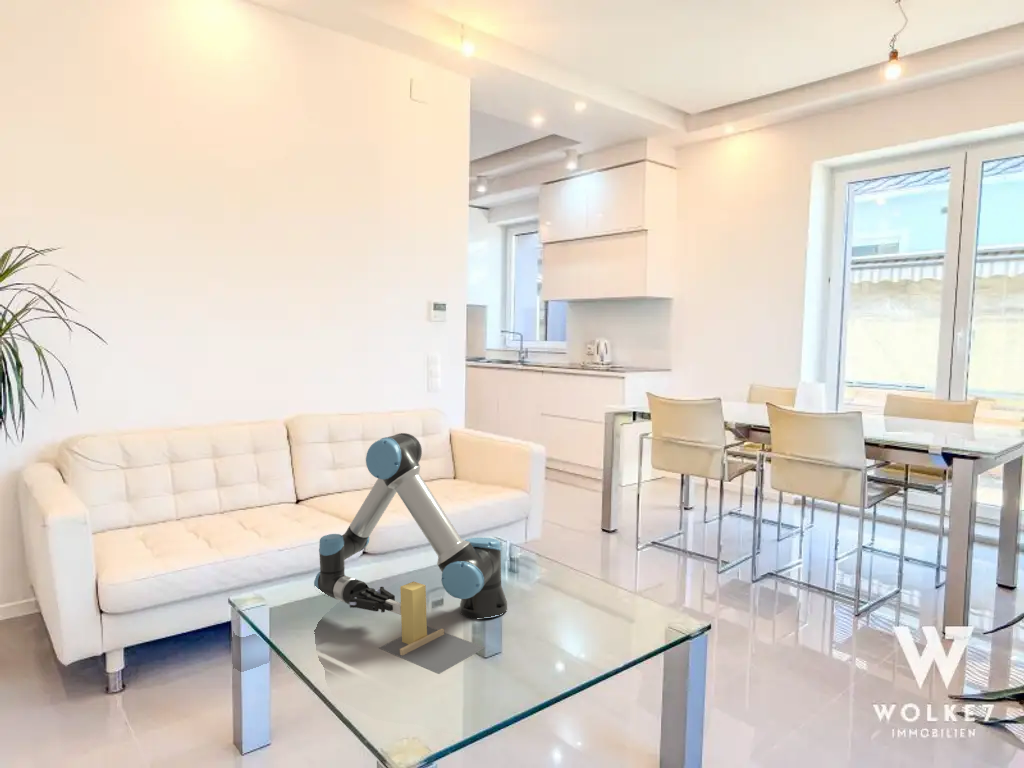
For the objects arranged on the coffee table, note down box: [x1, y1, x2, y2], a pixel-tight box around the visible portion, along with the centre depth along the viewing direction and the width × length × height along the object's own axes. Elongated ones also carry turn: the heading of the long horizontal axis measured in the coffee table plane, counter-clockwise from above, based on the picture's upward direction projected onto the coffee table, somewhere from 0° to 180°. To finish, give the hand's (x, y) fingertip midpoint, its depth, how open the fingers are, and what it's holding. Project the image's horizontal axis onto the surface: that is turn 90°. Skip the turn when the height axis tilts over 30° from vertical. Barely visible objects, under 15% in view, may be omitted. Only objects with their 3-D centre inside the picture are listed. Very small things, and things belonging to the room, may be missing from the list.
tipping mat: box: [378, 625, 486, 674], centre depth 181 cm, size 24×18×2 cm
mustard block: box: [400, 581, 428, 644], centre depth 185 cm, size 5×5×16 cm
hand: (402, 609), depth 188 cm, fingers closed
